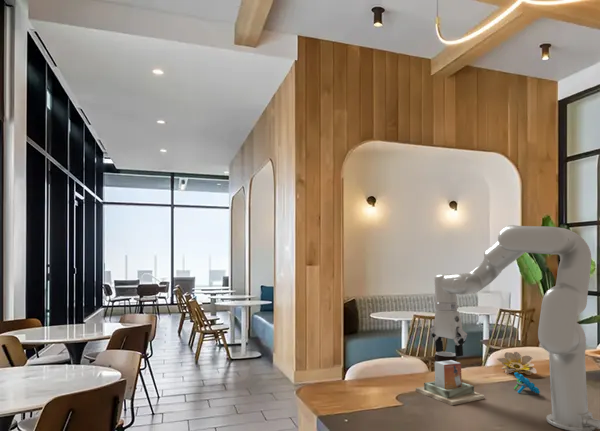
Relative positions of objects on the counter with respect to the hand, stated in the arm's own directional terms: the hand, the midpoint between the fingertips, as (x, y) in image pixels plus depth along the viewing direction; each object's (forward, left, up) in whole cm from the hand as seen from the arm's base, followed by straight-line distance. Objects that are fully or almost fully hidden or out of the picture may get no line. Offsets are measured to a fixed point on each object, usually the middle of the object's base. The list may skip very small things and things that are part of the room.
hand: (449, 353), depth 161 cm
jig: (+1, 0, -15) cm, 15 cm away
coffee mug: (+19, -17, -15) cm, 29 cm away
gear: (-11, -28, -15) cm, 33 cm away
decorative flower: (+9, -48, -15) cm, 52 cm away
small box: (+1, 0, -14) cm, 14 cm away
